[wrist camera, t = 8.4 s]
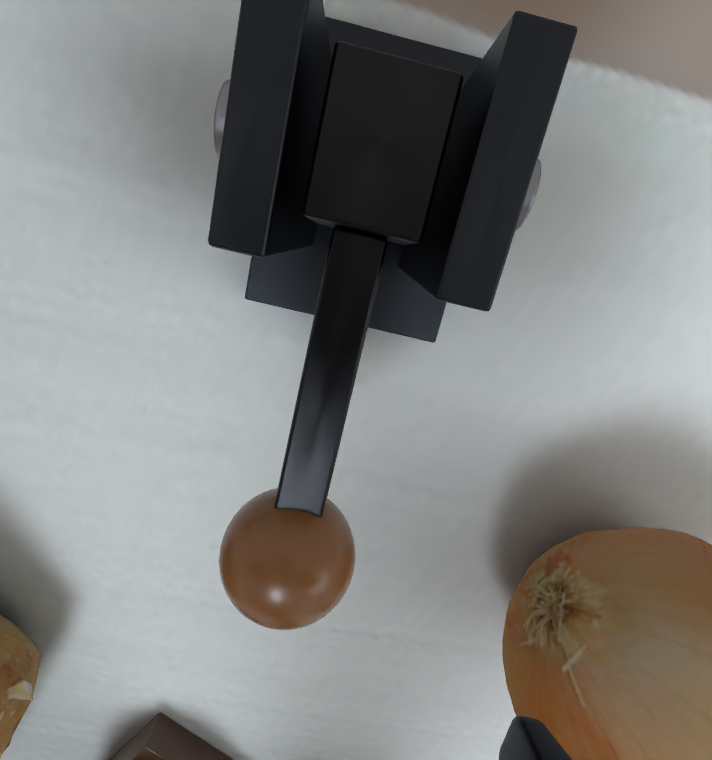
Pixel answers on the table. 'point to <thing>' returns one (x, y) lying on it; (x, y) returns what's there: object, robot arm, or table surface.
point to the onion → (616, 645)
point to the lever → (340, 321)
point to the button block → (167, 744)
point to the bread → (15, 677)
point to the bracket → (455, 182)
